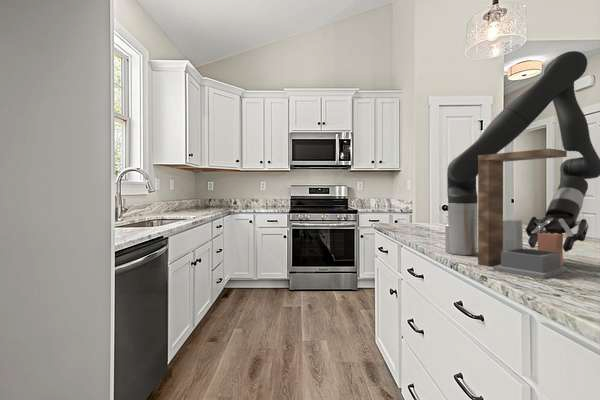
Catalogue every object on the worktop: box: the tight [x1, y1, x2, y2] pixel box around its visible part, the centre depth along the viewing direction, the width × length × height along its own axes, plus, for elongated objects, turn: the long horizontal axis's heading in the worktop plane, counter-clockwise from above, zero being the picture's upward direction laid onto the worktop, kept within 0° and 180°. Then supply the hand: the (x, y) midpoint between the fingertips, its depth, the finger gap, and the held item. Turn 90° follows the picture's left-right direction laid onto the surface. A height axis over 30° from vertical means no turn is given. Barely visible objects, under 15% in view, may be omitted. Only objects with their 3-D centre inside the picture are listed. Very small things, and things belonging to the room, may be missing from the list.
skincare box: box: [503, 219, 524, 251], centre depth 113 cm, size 6×4×12 cm
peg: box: [537, 233, 564, 267], centre depth 101 cm, size 4×4×9 cm
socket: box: [492, 248, 568, 280], centre depth 94 cm, size 12×14×5 cm
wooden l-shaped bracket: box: [477, 148, 568, 267], centre depth 97 cm, size 18×10×32 cm, turn 34°
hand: (547, 247), depth 100 cm, fingers open, 8 cm apart
